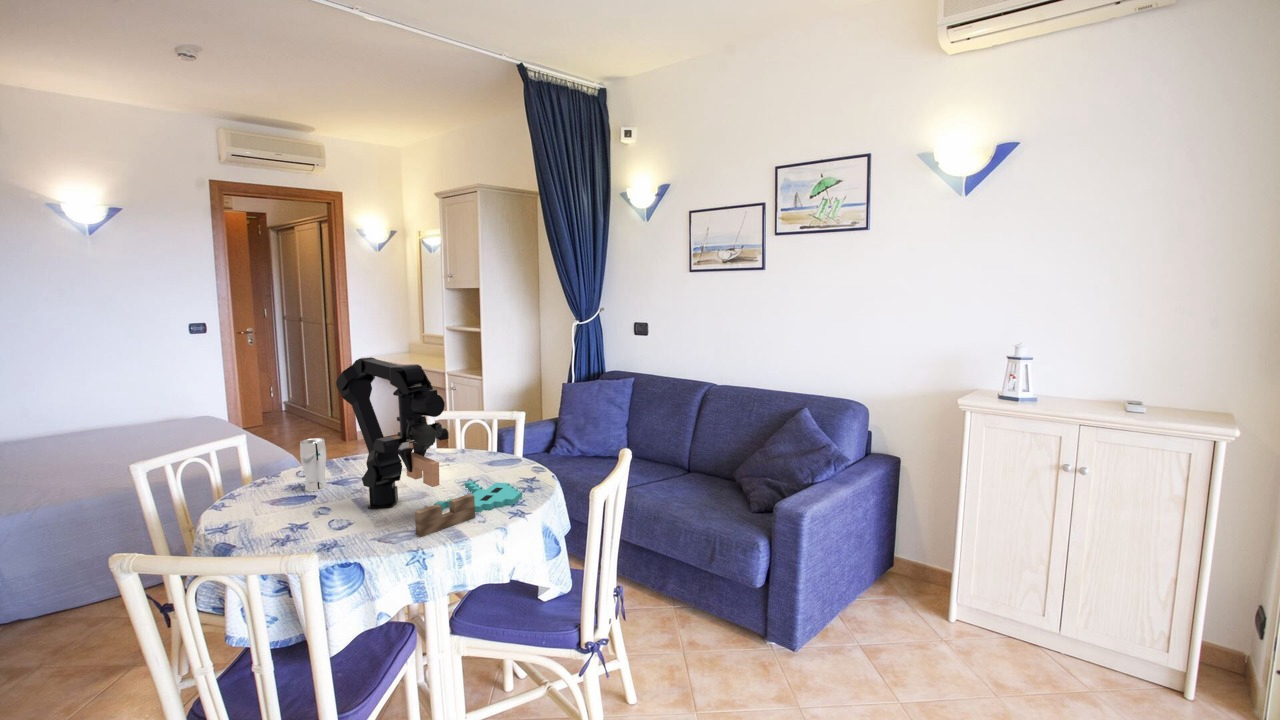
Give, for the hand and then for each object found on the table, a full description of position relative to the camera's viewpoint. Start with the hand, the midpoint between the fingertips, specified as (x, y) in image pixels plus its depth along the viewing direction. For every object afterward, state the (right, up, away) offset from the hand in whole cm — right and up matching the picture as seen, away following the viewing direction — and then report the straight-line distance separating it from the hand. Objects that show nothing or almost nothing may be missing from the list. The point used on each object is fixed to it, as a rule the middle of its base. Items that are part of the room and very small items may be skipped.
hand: (414, 470), depth 166 cm
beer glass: (-39, -10, +25) cm, 47 cm away
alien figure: (+16, -11, +12) cm, 23 cm away
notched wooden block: (+11, -13, -7) cm, 18 cm away
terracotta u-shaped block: (+3, -2, -2) cm, 4 cm away
